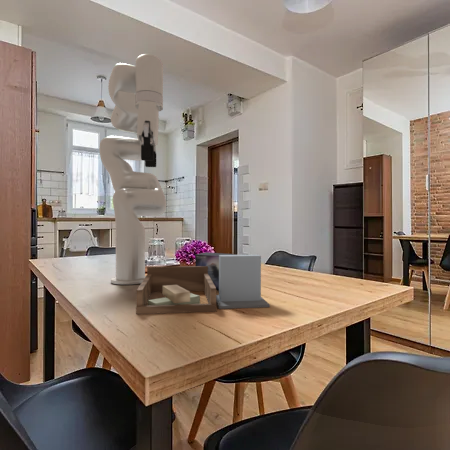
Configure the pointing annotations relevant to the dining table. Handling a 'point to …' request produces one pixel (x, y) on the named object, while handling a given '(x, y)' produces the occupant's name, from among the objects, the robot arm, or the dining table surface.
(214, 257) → the small box
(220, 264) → the block
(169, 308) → the brown wooden tray
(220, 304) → the pad
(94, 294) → the dining table surface
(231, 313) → the dining table surface
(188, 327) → the dining table surface
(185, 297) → the offcut upper
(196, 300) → the offcut lower
